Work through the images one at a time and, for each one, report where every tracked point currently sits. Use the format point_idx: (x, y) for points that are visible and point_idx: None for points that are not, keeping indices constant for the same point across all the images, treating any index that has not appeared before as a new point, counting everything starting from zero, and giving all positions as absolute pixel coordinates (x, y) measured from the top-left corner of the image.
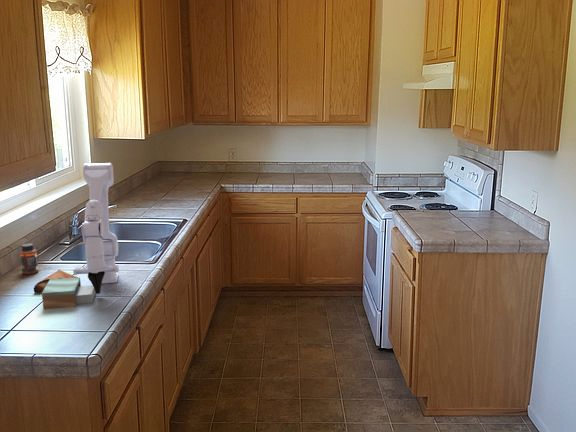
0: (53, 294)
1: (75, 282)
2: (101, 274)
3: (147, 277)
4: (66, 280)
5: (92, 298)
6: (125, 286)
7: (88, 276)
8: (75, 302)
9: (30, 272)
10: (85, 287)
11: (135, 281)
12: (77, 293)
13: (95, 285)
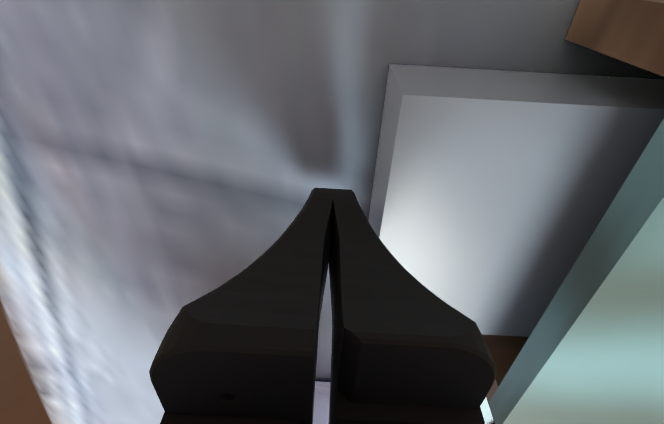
0: None
1: (584, 349)
2: (207, 389)
3: (79, 397)
4: (645, 404)
5: (388, 110)
6: (166, 325)
7: (484, 371)
8: (607, 8)
9: None
10: (449, 301)
11: (128, 370)
12: (567, 173)
13: (350, 240)
